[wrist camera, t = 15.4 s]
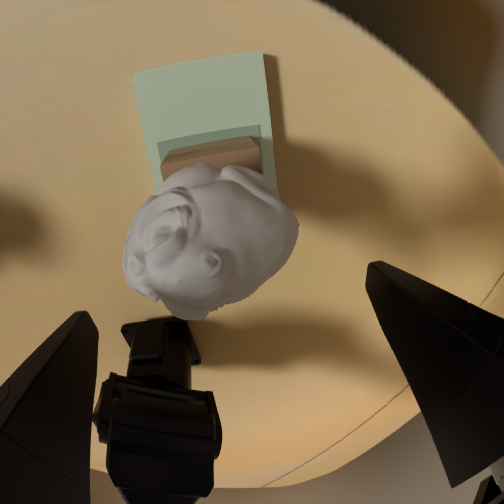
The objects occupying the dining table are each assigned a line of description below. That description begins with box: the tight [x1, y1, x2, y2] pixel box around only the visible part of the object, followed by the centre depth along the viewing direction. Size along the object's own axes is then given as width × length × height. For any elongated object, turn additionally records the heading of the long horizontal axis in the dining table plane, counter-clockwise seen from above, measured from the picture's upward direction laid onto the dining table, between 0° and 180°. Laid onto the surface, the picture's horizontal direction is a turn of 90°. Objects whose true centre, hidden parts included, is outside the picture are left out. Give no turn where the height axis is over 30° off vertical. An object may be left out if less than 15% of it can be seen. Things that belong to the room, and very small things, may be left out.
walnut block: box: [160, 136, 262, 182], centre depth 17 cm, size 5×5×4 cm
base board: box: [132, 51, 277, 195], centre depth 18 cm, size 12×8×1 cm, turn 7°
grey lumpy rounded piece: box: [123, 163, 299, 320], centre depth 12 cm, size 6×7×7 cm
